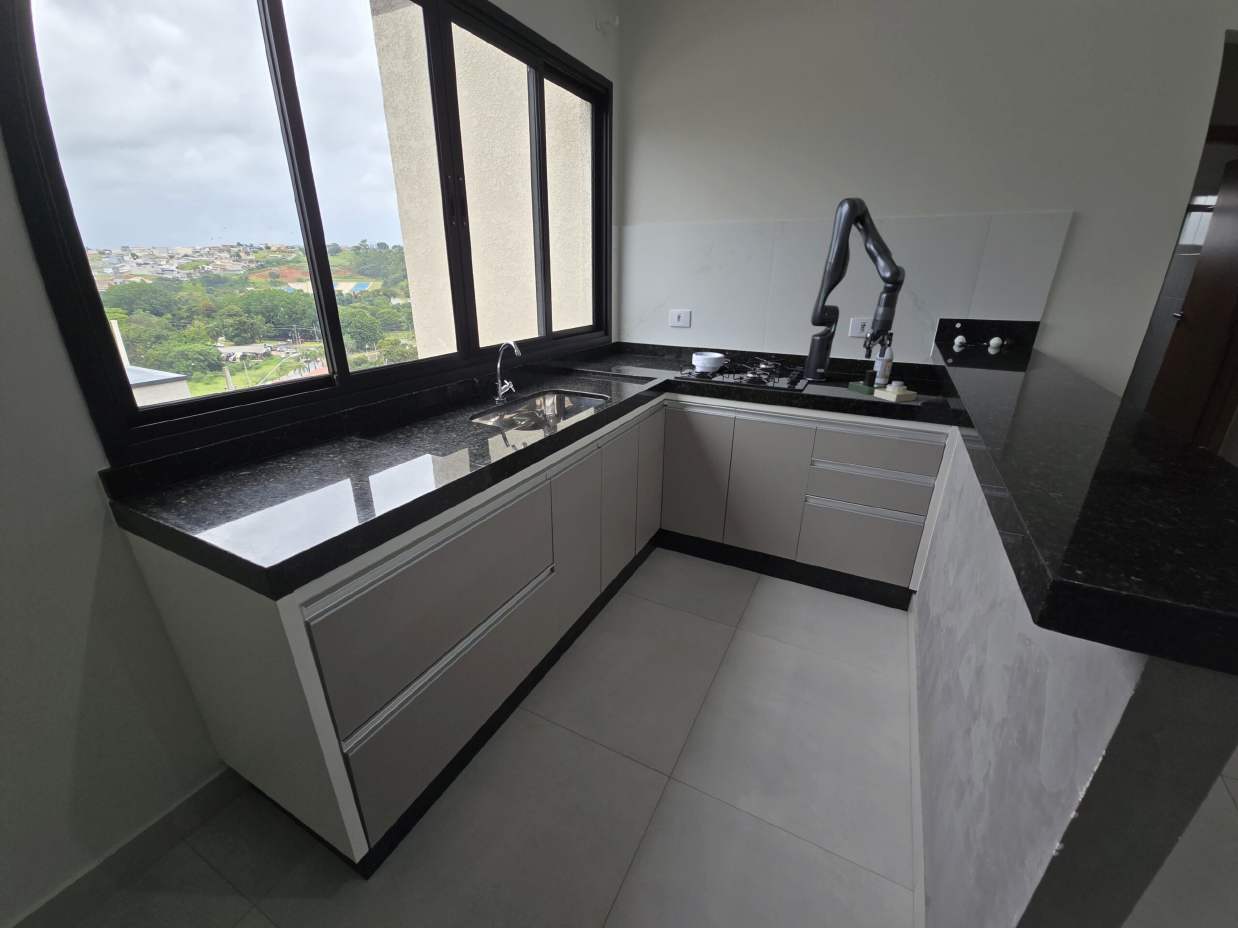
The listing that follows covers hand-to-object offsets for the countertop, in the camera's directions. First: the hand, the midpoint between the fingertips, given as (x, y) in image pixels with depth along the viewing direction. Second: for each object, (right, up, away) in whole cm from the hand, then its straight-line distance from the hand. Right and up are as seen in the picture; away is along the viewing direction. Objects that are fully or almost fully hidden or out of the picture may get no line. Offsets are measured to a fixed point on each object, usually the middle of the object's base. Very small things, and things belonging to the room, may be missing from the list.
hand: (874, 358), depth 212 cm
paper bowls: (-64, +1, +34) cm, 73 cm away
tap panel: (-1, -13, +4) cm, 14 cm away
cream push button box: (+5, -18, -6) cm, 19 cm away
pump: (+5, -13, -8) cm, 16 cm away
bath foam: (+13, -7, +22) cm, 27 cm away
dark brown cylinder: (-1, -10, +3) cm, 11 cm away
